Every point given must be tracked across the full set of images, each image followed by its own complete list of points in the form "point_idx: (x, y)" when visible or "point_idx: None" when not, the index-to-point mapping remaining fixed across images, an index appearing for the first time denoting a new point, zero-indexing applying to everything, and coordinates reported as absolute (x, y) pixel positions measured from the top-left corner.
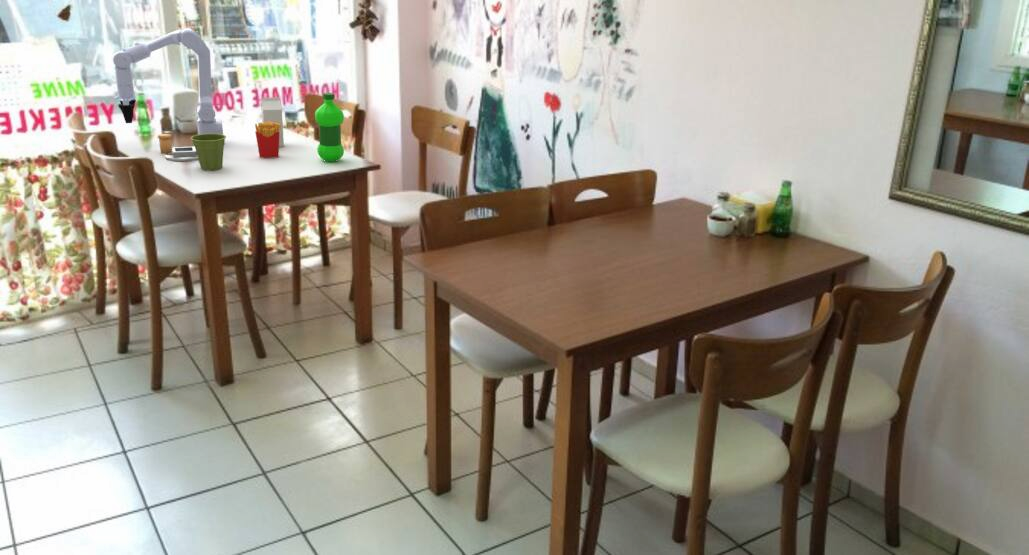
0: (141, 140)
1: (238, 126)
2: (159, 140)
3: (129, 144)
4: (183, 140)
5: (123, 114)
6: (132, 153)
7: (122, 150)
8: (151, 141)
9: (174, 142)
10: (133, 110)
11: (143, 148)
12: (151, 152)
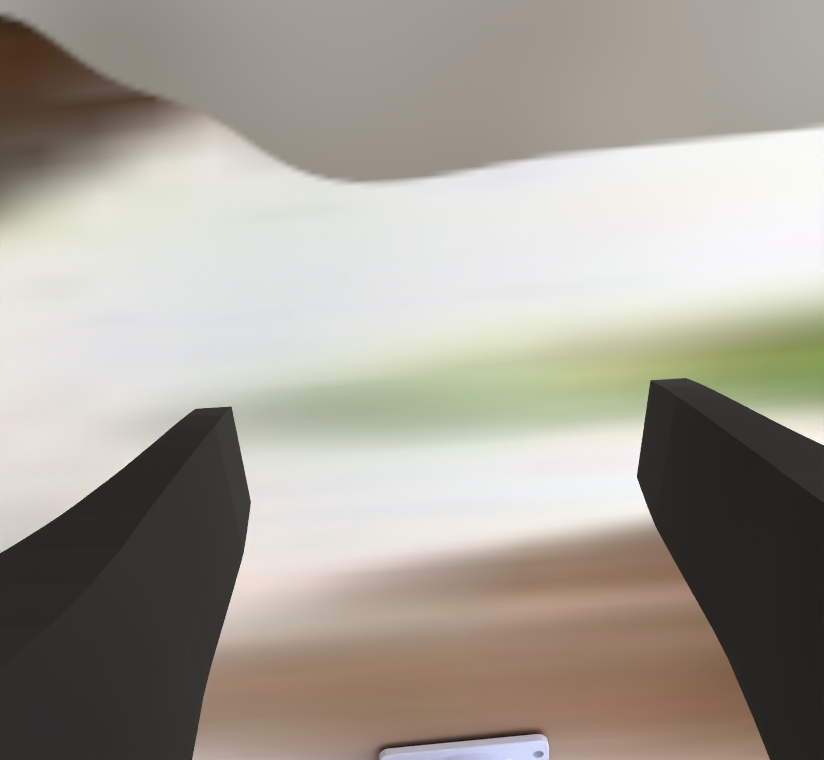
0: (756, 318)
1: None
2: None
3: (569, 204)
4: (630, 647)
5: (54, 528)
6: (67, 287)
7: (226, 152)
8: None
9: (565, 597)
10: (722, 644)
11: (329, 375)
12: None
